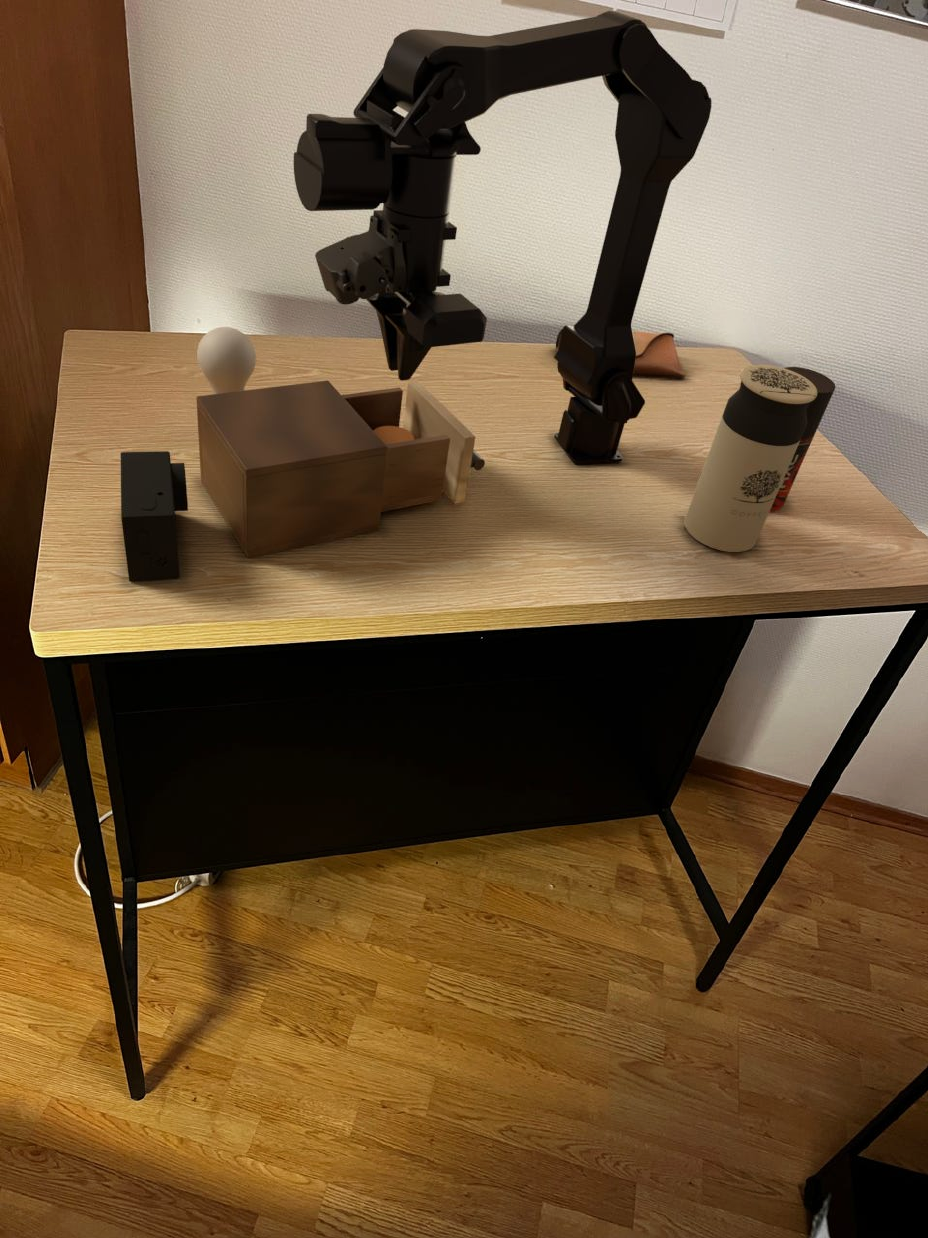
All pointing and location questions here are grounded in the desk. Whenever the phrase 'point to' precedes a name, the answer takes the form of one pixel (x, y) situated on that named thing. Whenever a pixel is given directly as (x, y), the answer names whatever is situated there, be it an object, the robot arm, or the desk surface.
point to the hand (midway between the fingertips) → (399, 374)
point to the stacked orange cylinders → (393, 434)
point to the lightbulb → (226, 359)
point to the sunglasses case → (652, 354)
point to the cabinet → (290, 466)
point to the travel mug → (749, 457)
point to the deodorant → (813, 420)
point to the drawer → (419, 446)
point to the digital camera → (151, 513)
